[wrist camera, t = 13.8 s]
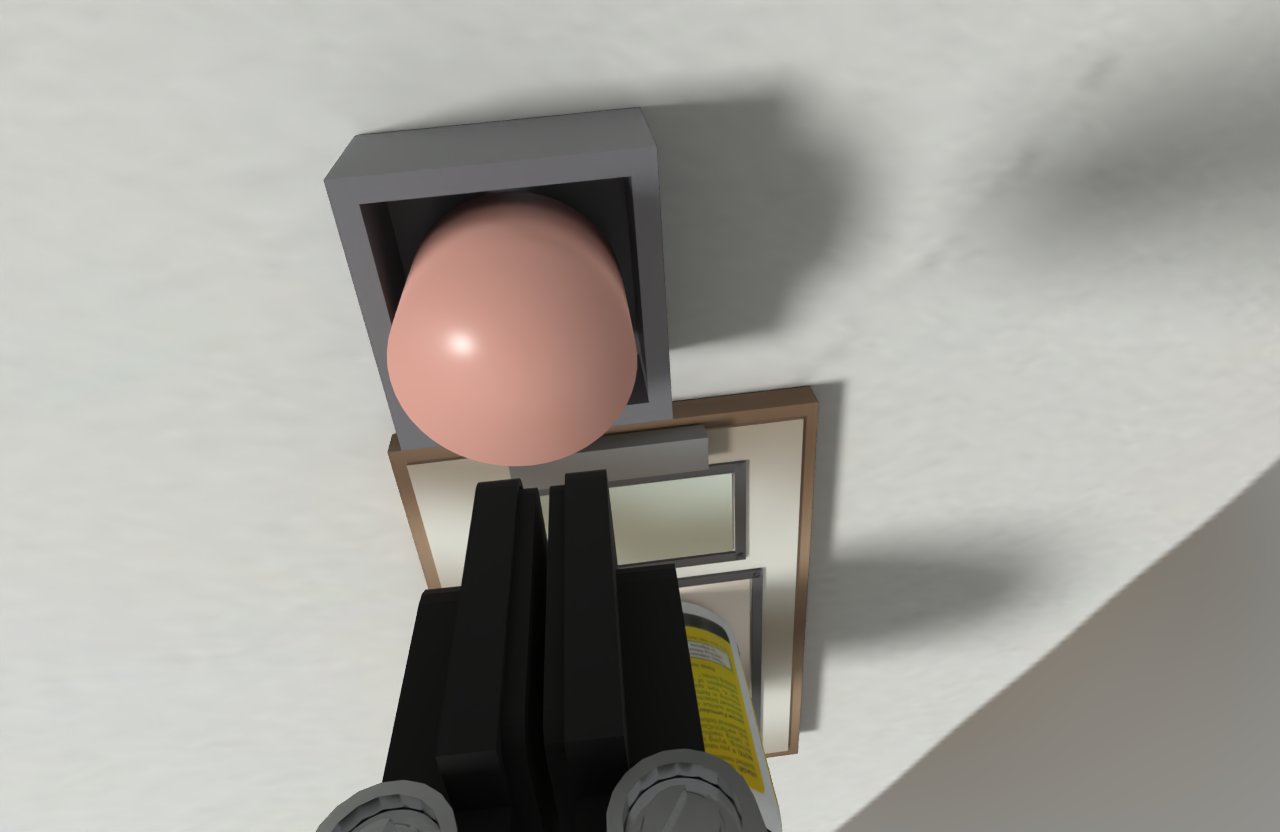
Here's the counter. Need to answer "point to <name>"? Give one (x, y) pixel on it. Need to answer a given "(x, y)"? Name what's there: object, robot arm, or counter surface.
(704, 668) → the supplement bottle
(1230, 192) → the counter surface
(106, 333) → the counter surface
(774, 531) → the brown double tray
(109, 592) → the counter surface
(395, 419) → the button housing
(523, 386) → the button
